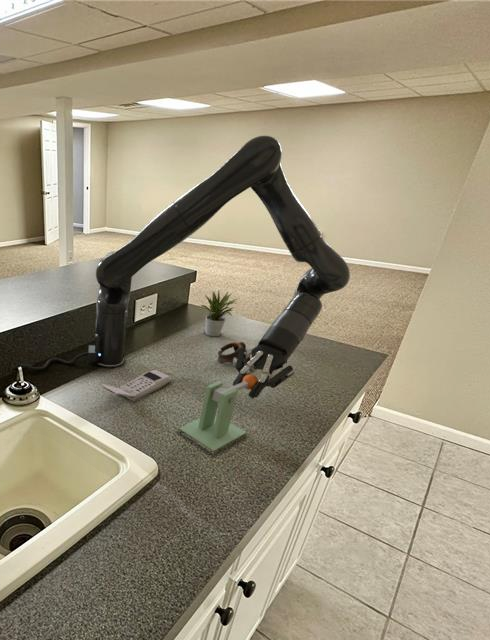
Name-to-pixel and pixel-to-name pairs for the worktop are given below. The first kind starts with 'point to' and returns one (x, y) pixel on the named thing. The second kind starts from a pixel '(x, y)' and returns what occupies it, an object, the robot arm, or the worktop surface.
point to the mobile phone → (141, 385)
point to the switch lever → (236, 387)
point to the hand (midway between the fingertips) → (242, 392)
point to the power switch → (215, 420)
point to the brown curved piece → (231, 356)
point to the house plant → (216, 314)
